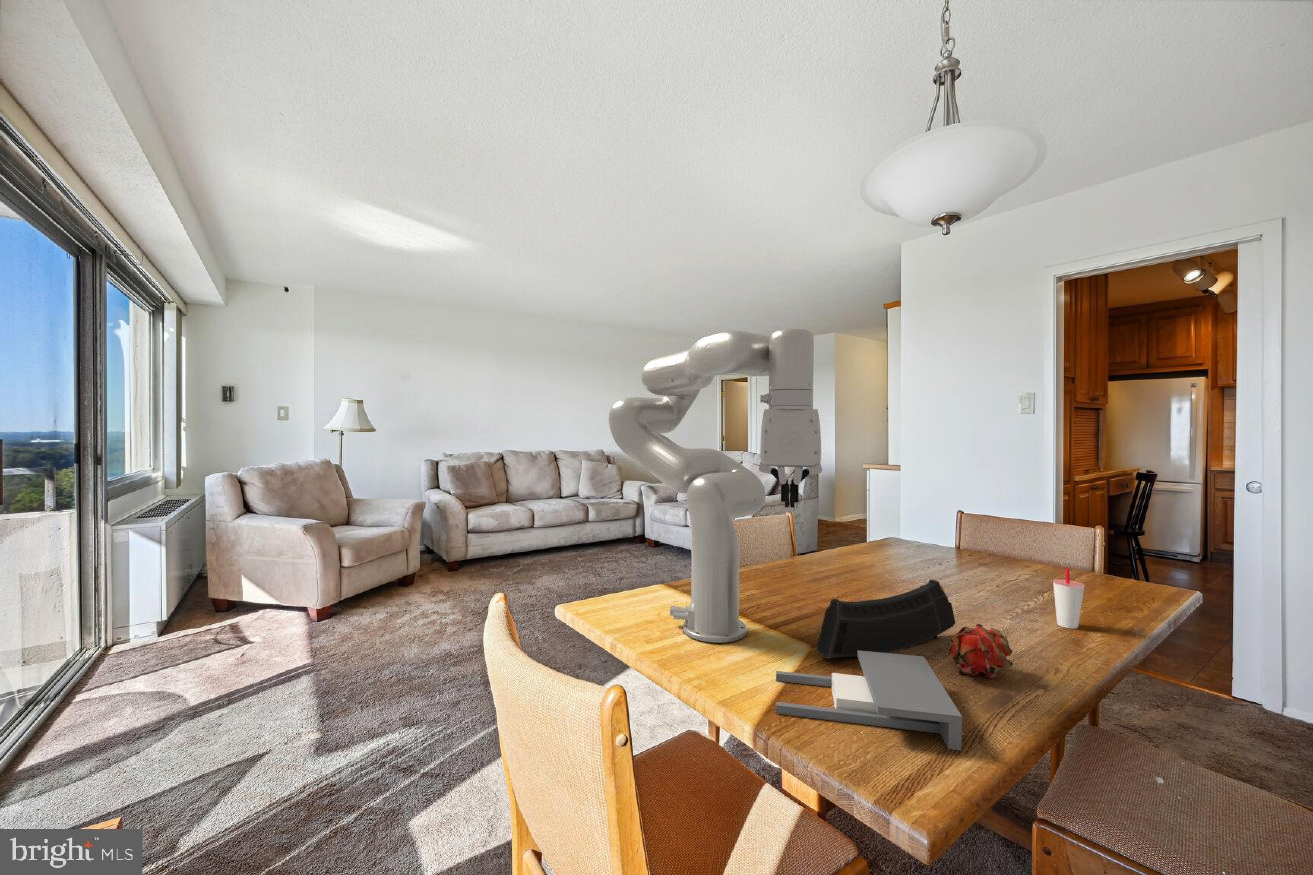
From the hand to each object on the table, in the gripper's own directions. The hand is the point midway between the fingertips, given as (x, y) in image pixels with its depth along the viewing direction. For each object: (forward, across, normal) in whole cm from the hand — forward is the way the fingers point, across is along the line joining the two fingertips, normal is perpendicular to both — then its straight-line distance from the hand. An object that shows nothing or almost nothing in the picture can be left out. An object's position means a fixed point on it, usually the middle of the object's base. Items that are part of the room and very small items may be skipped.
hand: (789, 506), depth 93 cm
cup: (+27, +57, +30) cm, 70 cm away
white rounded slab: (+27, +12, -13) cm, 32 cm away
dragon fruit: (+27, +31, +2) cm, 41 cm away
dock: (+27, +10, -13) cm, 32 cm away
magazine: (+28, +19, +10) cm, 35 cm away
